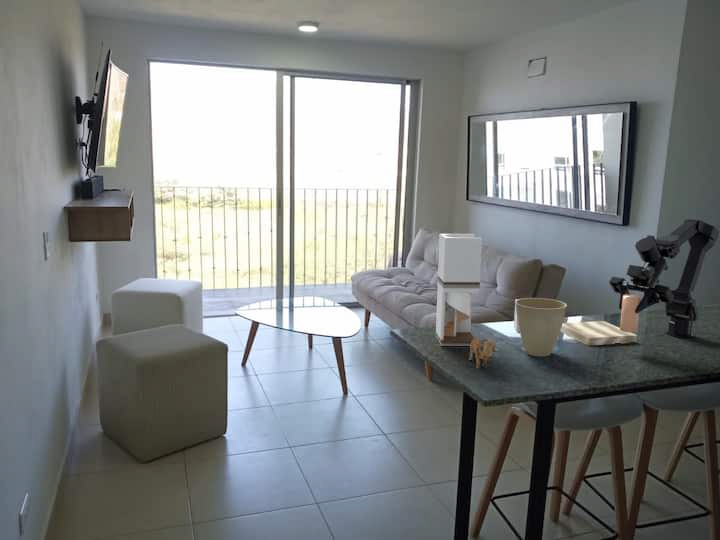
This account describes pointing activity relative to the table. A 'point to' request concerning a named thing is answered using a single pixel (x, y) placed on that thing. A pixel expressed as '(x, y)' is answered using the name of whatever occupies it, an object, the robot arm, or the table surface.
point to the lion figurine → (482, 350)
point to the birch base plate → (597, 333)
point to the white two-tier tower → (457, 287)
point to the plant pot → (539, 324)
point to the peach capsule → (629, 313)
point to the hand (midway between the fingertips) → (627, 310)
